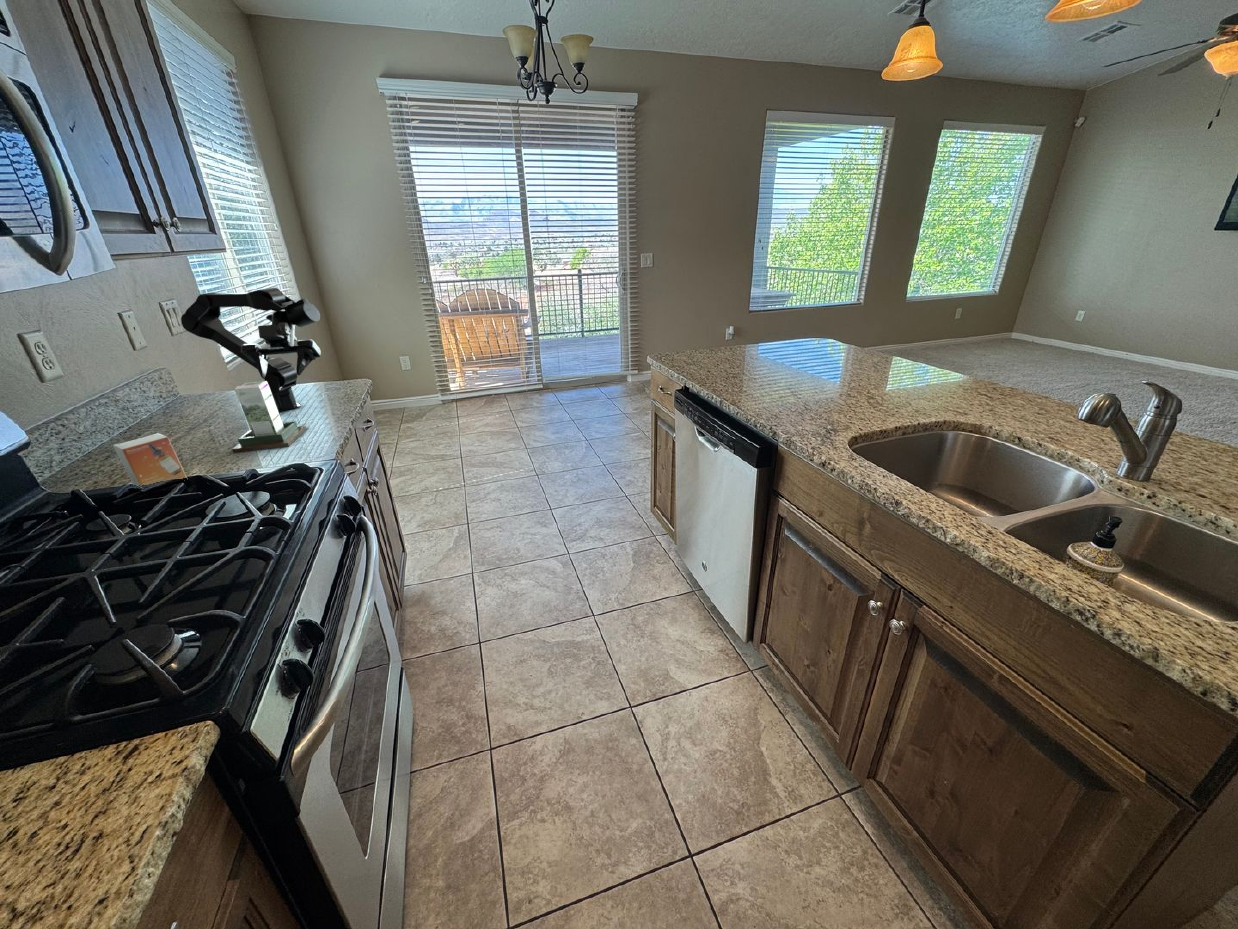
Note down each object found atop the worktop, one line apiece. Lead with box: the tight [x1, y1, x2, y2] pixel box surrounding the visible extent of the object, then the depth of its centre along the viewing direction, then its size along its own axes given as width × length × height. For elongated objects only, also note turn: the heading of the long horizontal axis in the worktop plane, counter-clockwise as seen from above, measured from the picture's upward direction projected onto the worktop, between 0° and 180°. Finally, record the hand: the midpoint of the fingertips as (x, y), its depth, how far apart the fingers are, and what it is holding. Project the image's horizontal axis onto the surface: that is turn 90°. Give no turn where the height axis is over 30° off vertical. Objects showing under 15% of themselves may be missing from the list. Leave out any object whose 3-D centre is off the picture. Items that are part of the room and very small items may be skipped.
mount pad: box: [231, 421, 308, 454], centre depth 129 cm, size 13×13×3 cm
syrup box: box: [234, 380, 285, 436], centre depth 127 cm, size 6×6×14 cm
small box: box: [112, 432, 188, 486], centre depth 106 cm, size 8×6×10 cm
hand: (280, 376), depth 138 cm, fingers open, 9 cm apart
